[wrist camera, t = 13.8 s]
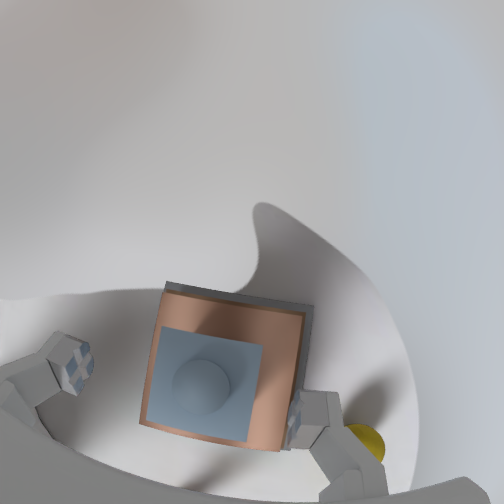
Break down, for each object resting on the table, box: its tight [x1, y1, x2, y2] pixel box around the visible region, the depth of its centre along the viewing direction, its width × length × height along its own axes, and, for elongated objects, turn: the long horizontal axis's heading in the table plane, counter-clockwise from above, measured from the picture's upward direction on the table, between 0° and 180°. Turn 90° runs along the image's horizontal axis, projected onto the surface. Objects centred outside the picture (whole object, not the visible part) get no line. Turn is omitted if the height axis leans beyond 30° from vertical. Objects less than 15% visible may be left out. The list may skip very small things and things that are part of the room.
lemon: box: [344, 424, 385, 463], centre depth 22 cm, size 6×6×8 cm
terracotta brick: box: [139, 289, 306, 452], centre depth 24 cm, size 13×13×8 cm
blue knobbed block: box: [146, 326, 263, 442], centre depth 16 cm, size 5×5×9 cm
